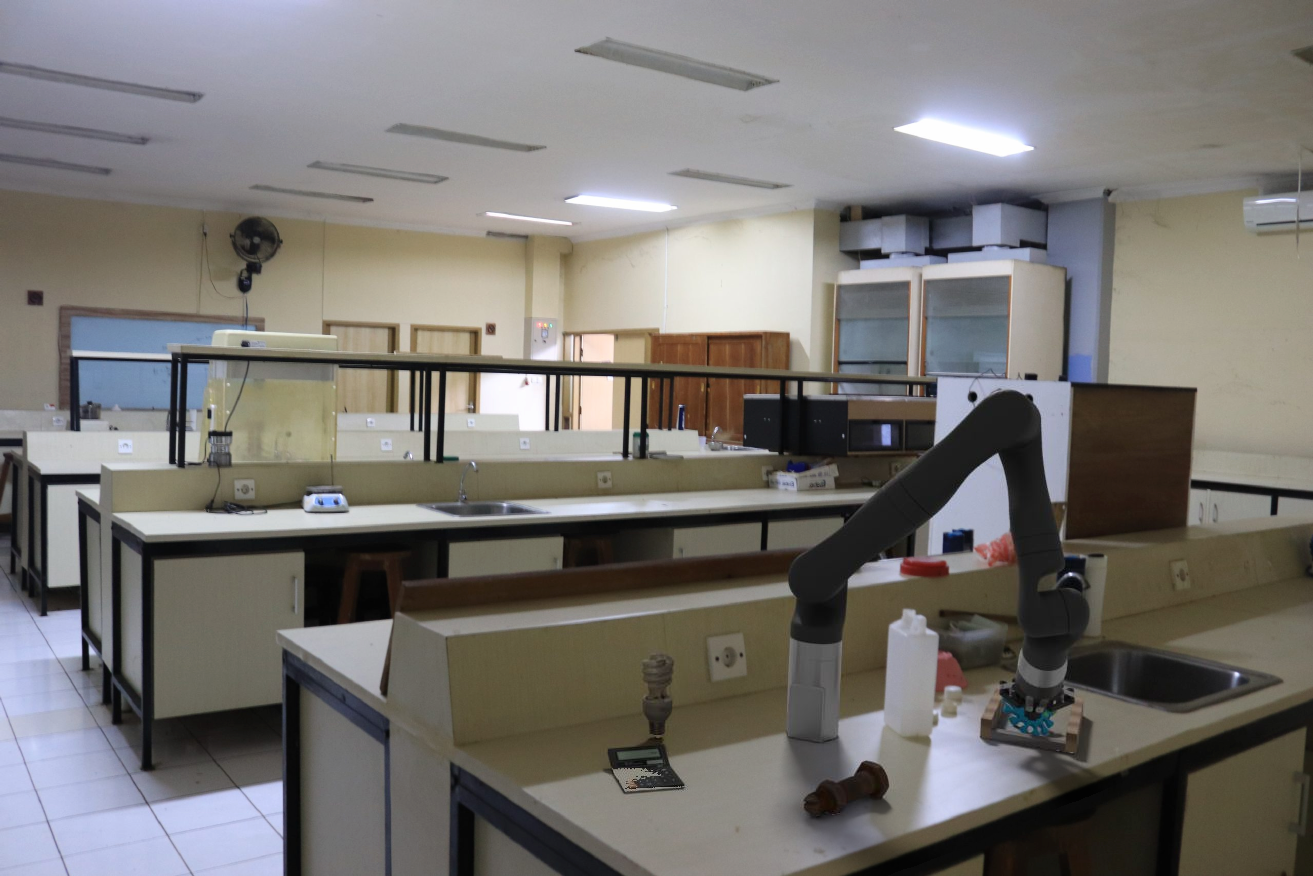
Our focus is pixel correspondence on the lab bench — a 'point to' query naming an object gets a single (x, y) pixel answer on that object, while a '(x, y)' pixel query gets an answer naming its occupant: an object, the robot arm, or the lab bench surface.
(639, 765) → the calculator
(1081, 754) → the lab bench surface
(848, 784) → the bolt
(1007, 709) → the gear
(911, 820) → the lab bench surface
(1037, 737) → the chute
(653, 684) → the light bulb
